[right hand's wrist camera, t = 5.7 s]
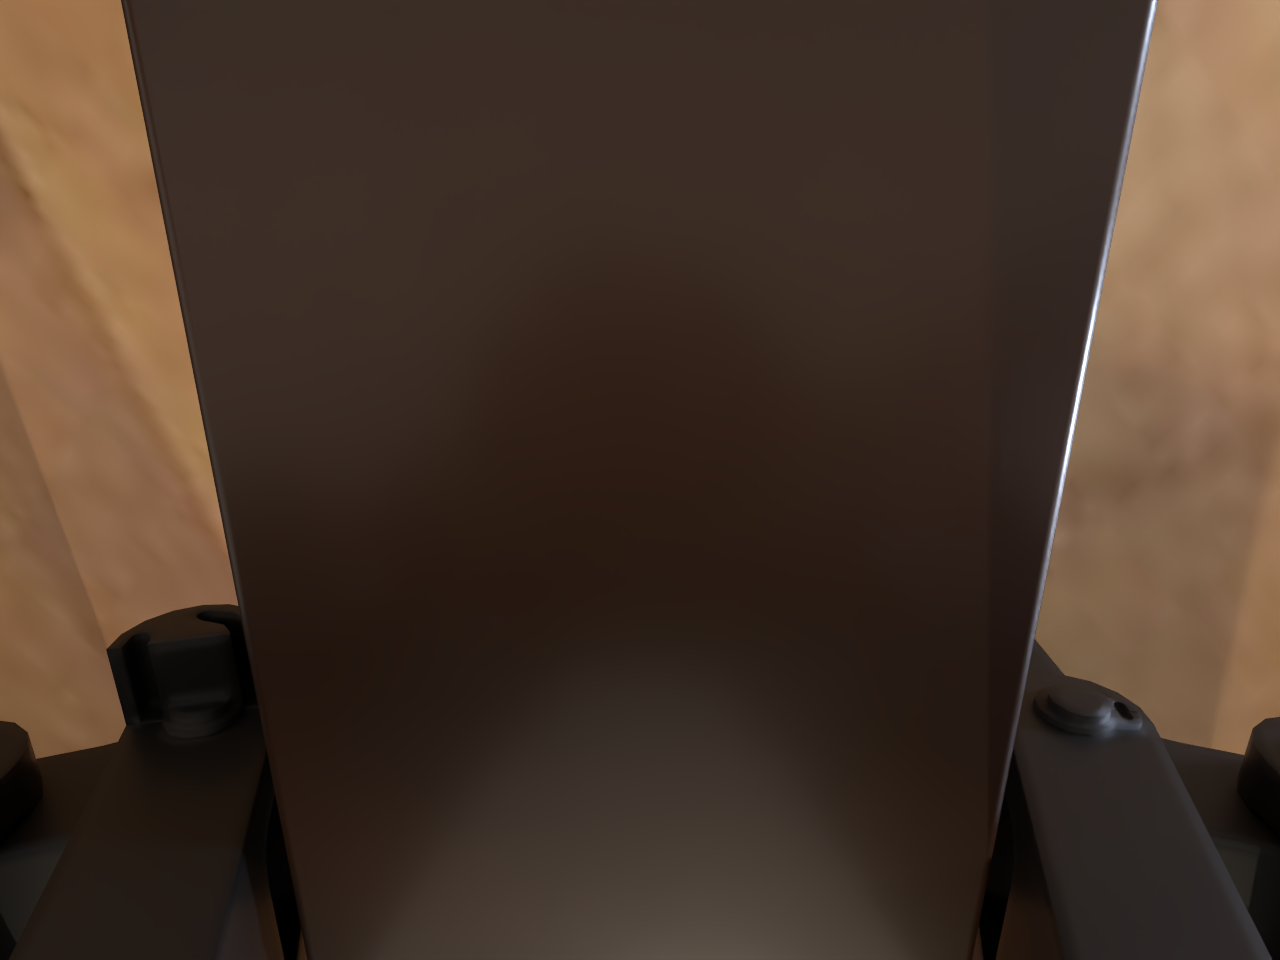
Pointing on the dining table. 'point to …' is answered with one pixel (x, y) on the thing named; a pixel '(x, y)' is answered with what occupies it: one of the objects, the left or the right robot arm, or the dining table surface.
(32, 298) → the dining table surface
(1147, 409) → the dining table surface
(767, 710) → the walnut box
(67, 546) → the dining table surface
